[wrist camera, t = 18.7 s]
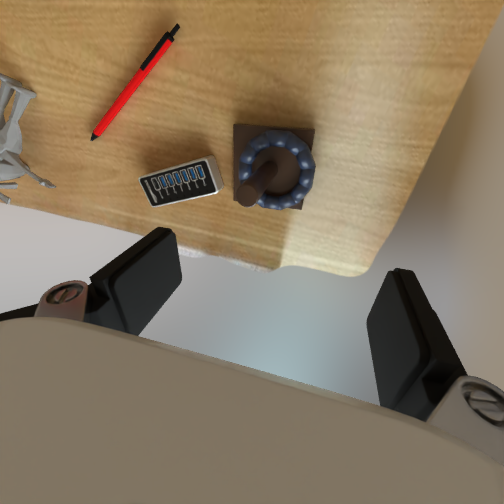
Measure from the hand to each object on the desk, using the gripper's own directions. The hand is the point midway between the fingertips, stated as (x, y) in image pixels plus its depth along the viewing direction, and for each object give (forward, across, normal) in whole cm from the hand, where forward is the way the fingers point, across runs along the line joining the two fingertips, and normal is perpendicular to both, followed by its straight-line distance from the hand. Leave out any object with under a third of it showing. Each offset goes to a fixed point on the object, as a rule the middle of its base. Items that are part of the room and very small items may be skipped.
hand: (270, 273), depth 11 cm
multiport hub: (+22, +16, +4) cm, 27 cm away
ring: (+20, +3, +1) cm, 20 cm away
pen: (+21, +22, -6) cm, 31 cm away
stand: (+22, +4, +1) cm, 22 cm away
